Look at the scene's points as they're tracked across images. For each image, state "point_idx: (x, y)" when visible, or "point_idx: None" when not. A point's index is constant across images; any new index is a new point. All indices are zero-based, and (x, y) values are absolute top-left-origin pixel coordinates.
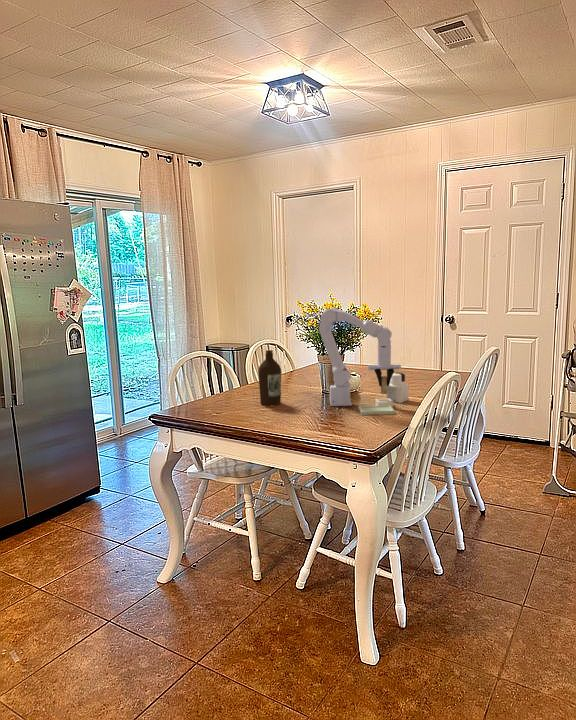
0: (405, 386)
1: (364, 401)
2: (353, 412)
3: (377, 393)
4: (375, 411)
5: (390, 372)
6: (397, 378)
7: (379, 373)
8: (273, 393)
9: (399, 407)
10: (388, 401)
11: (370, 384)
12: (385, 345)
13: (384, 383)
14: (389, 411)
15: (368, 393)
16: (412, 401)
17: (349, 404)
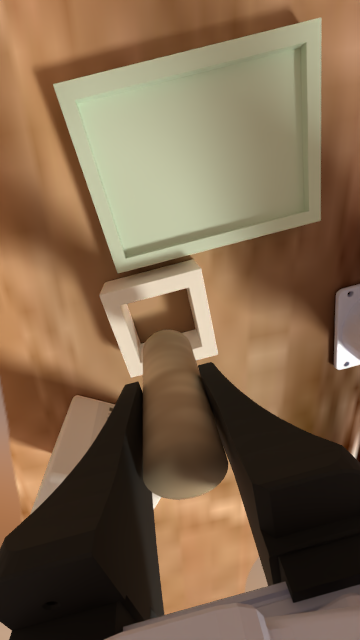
0: (33, 508)
1: (262, 389)
2: (350, 116)
3: (203, 512)
4: (209, 45)
5: (64, 526)
6: None
7: (284, 456)
8: None
9: (66, 303)
10: (130, 298)
11: (229, 593)
12: None
13: (170, 384)
14: (96, 73)
15: (239, 504)
16: (25, 434)
17: (350, 295)
